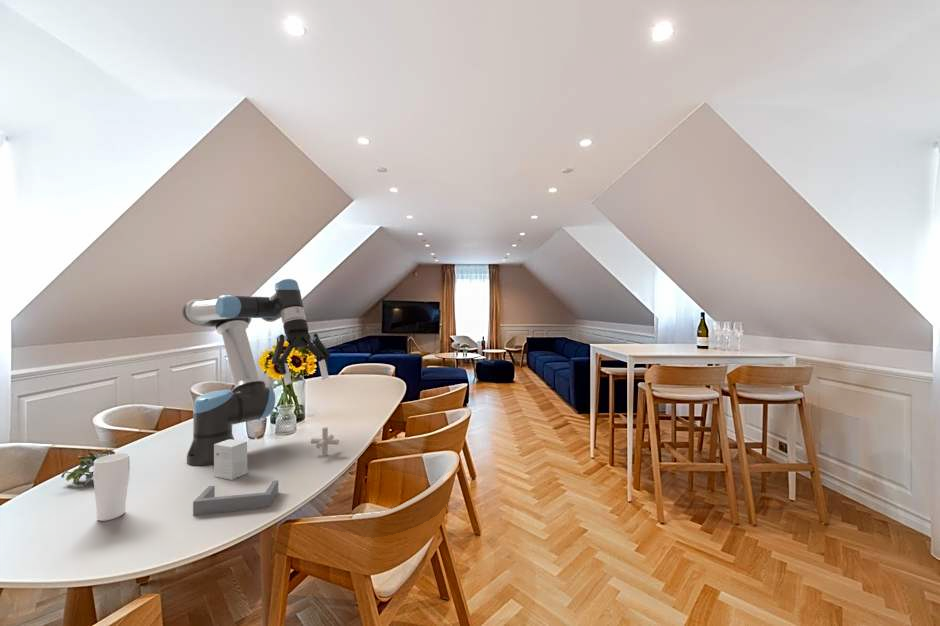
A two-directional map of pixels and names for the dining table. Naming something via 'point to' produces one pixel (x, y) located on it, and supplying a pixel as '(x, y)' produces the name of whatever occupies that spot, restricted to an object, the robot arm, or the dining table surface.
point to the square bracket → (233, 501)
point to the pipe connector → (324, 441)
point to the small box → (230, 459)
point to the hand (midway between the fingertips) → (307, 381)
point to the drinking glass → (111, 485)
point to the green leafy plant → (88, 462)
